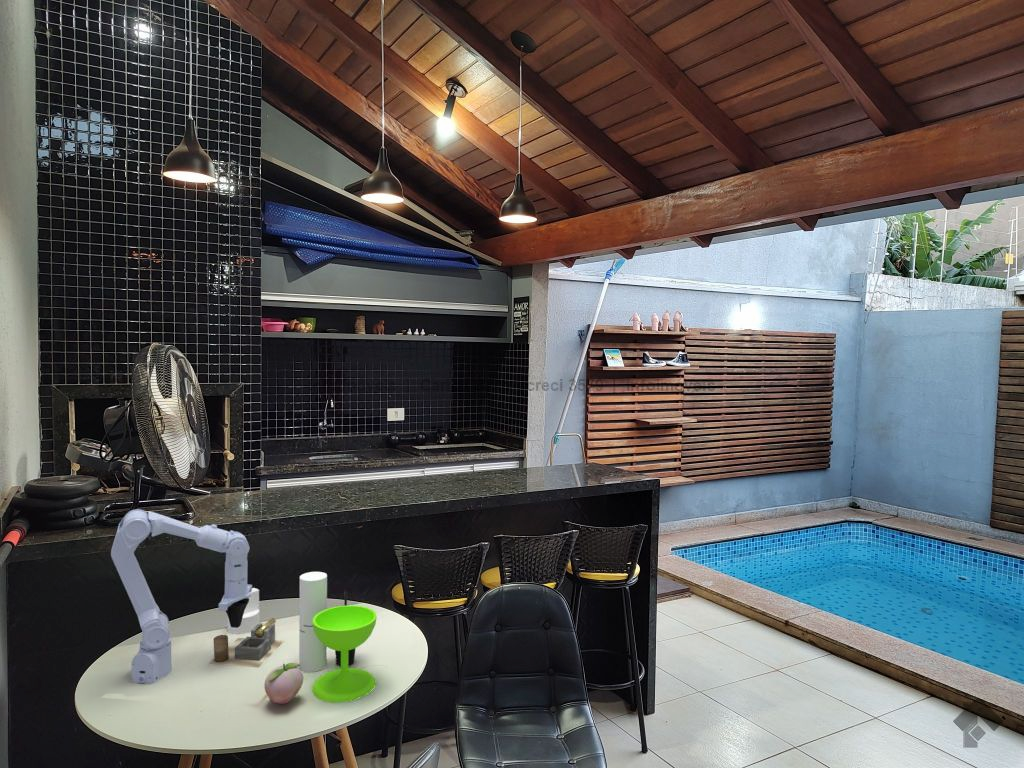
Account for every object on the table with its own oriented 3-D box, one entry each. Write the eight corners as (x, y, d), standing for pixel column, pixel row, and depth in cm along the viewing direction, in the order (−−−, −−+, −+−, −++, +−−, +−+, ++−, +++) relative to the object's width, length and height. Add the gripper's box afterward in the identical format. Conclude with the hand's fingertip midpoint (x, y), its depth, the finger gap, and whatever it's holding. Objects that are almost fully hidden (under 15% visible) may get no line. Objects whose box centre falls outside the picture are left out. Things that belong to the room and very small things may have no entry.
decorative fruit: (282, 690, 167) (282, 652, 166) (308, 697, 164) (309, 658, 163) (255, 709, 158) (255, 668, 158) (283, 716, 155) (283, 675, 155)
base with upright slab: (237, 640, 194) (237, 600, 193) (221, 632, 199) (221, 593, 199) (265, 630, 201) (265, 592, 200) (249, 622, 207) (249, 585, 206)
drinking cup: (324, 664, 181) (325, 593, 179) (344, 653, 187) (344, 584, 186) (346, 671, 177) (346, 599, 176) (365, 660, 184) (365, 590, 183)
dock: (258, 671, 176) (258, 648, 176) (208, 668, 177) (208, 645, 177) (284, 644, 192) (284, 623, 192) (238, 641, 193) (238, 621, 193)
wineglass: (358, 664, 181) (359, 600, 180) (387, 688, 169) (387, 620, 168) (302, 682, 171) (302, 614, 170) (328, 709, 159) (328, 636, 158)
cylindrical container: (318, 673, 176) (319, 581, 174) (294, 670, 177) (294, 579, 176) (331, 661, 183) (331, 573, 181) (307, 658, 184) (308, 570, 183)
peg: (225, 662, 178) (224, 640, 178) (212, 662, 178) (211, 641, 178) (230, 655, 182) (230, 634, 181) (217, 655, 182) (216, 634, 181)
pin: (262, 637, 186) (262, 630, 186) (255, 636, 187) (255, 630, 187) (276, 624, 195) (276, 617, 195) (269, 624, 195) (269, 617, 195)
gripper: (236, 588, 173) (236, 638, 174) (262, 570, 187) (261, 616, 188) (211, 586, 174) (210, 637, 174) (238, 568, 188) (238, 615, 189)
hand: (235, 626), depth 181 cm, fingers closed
